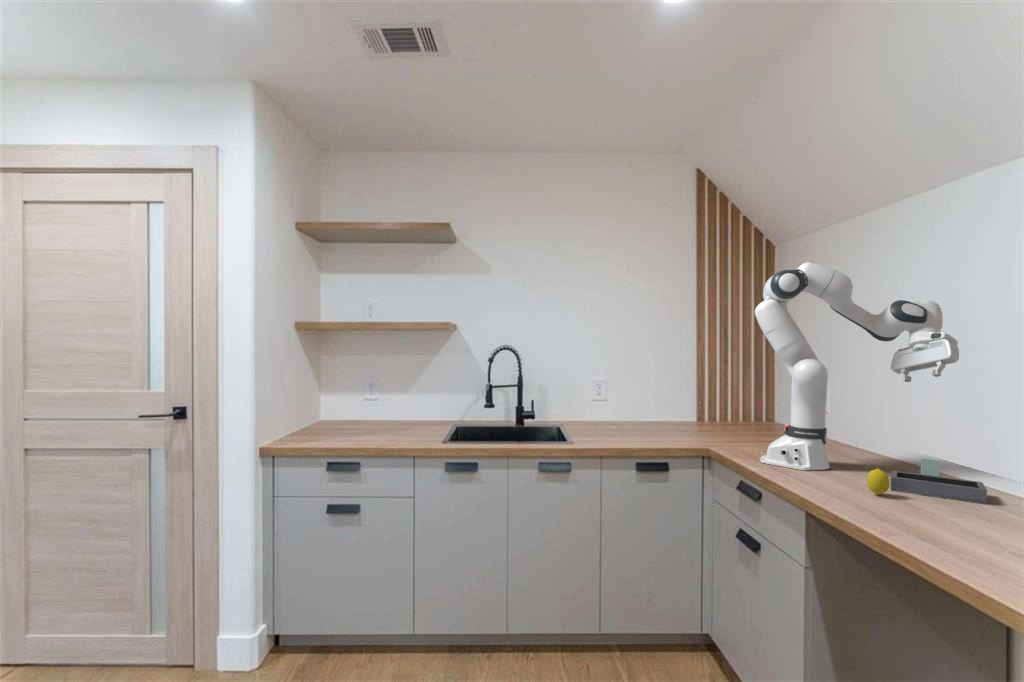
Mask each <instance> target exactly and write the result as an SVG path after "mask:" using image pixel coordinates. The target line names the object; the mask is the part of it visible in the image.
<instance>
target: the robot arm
mask: <svg viewBox="0 0 1024 682" xmlns="http://www.w3.org/2000/svg"><path fill="white" fill-rule="evenodd" d="M853 285H854V284H853V282H852V280H851V278H850V277H849V276H848V275H846V274H845V273H843V272H841V271H838V270H837V269H833V268H831V267H829V266H826V265H823V264H820V263H816V262H811V261H806V262H804V263H802V264H800V265H799V266H798V267H797V268H796V269H784V270H783V269H782V270H780V271H778V272H776V273H775V274H774V275H771V276H770V277H769V278H768V279H767V281H766V282H765V283H764V284H763V286H762V291H761V296H762V297H761V299H762V300H761V302H760V303H759V304H758V305H757V306H756V307H755V309H754V316H755V318H756V320H757V323H758V325H759V328H760V329H761V331H762V333H763V334H764V336H765V338H766V339H767V340H768V342H769V344H770V346H771V347H772V349H773V350H774V352H775V354H776V355H777V356H778V358H779V359H780V362H781V363H782V364H783V366H784V367H785V369H786V371H787V373H788V374H789V376H790V377H791V393H790V394H791V395H790V396H791V397H790V424H788V423H787V424H785V425H784V429H783V432H784V433H783V434H784V435H781V436H780V437H778V438H777V439H775V440H774V441H772V442H771V443H770V444H769V445H768V447H767V450H766V454H764V455H762V456H760V458H759V461H760V462H761V463H762V464H767V465H771V466H772V465H773V466H778V467H784V468H788V469H794V470H799V471H817V470H818V471H821V470H822V471H824V470H828V469H830V468H831V466H830V463H829V458H828V455H827V454H828V453H827V447H826V445H827V442H828V441H827V440H828V431H827V430H828V429H827V427H826V408H827V407H826V406H827V395H828V394H827V393H828V382H829V381H828V378H829V376H828V375H829V373H828V369H827V368H826V366H825V365H824V364H823V363H822V362H821V361H820V360H819V359H818V357H817V355H816V354H815V352H814V350H813V348H812V347H811V345H810V343H809V341H808V339H807V338H806V337H805V335H804V333H803V332H802V331H801V329H800V328H799V326H798V324H797V323H796V321H795V320H794V318H793V317H792V315H791V314H790V313H789V310H788V303H789V302H790V301H793V300H794V298H796V297H797V296H799V295H800V294H801V293H806V294H810V295H812V296H815V297H817V298H819V299H821V300H823V301H824V302H826V304H828V305H829V307H830V309H832V310H833V311H834V312H835V313H836V314H839V315H840V316H842V317H843V318H845V319H847V320H848V321H850V322H852V323H854V324H855V325H856V326H858V327H860V328H862V329H863V330H865V332H867V333H868V334H869V335H870V336H872V338H874V339H876V340H878V341H881V342H892V341H894V340H896V339H897V338H898V337H899V336H900V335H901V334H902V333H904V332H905V331H906V332H908V334H909V335H908V337H909V338H908V345H907V347H903V348H900V349H897V351H895V352H894V353H893V357H892V359H891V363H890V370H891V371H893V372H894V373H895V374H897V375H902V376H903V377H902V378H903V379H902V380H903V382H905V383H909V382H912V376H910V373H911V372H916V371H920V370H926V369H929V368H935V367H936V368H935V369H932V376H933V377H934V378H938V377H941V376H942V372H943V370H945V368H946V365H949V364H955V363H957V362H958V361H959V359H960V349H959V346H958V344H959V342H958V340H957V339H956V338H955V337H953V336H951V335H950V334H948V333H946V332H943V331H942V329H943V322H944V321H943V319H944V317H943V316H944V315H943V310H942V308H940V307H941V306H940V304H939V303H938V302H935V301H934V300H929V299H924V300H923V299H921V300H919V301H908V300H903V299H900V300H895V301H893V302H892V303H891V304H889V305H888V306H886V307H885V309H883V310H882V311H881V312H880V313H879V314H874V313H871V312H869V311H868V310H866V309H864V308H862V306H859V305H858V304H856V303H855V302H854V301H853V300H852V295H853V289H854V286H853ZM941 310H942V311H941ZM942 315H943V316H942Z"/></svg>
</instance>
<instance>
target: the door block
mask: <svg viewBox="0 0 1024 682" xmlns="http://www.w3.org/2000/svg"><path fill="white" fill-rule="evenodd" d="M920 474H923V475H931V476H939V477H940V458H939V457H933V456H926V455H925V456H924V455H921V456H920Z"/></svg>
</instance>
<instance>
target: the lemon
mask: <svg viewBox="0 0 1024 682" xmlns="http://www.w3.org/2000/svg"><path fill="white" fill-rule="evenodd" d="M889 478H890V477H889V475H888V474H887V473H886V472H885V471H883V470H882V469H880V468H878V467H877V468H876V469H872V470H870V471H869V472H868V474H867V477H866V485H867V488H868V489H869V490H870V491H871V492H872V493H874V494H875V495H876V496H880V495H882V494H885V493H886V492H888V490H889V488H890V479H889Z"/></svg>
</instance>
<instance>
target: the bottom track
mask: <svg viewBox="0 0 1024 682" xmlns="http://www.w3.org/2000/svg"><path fill="white" fill-rule="evenodd" d="M890 471H891V472H890V491H893V492H898V493H899V492H901V493H907V494H913V495H920V496H927V497H934V498H941V499H945V500H947V499H948V500H954V501H961V502H966V503H976V504H979V505H980V504H981V505H988V501H987V500H988V490H987V488H986V486H985V484H984V483H983V481H975V480H969V479H968V480H967V479H960V478H953V477H945V476H940V475H939V476H931V475H923V474H921V473H915V472H914V473H913V472H908V471H899V470H890Z"/></svg>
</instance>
